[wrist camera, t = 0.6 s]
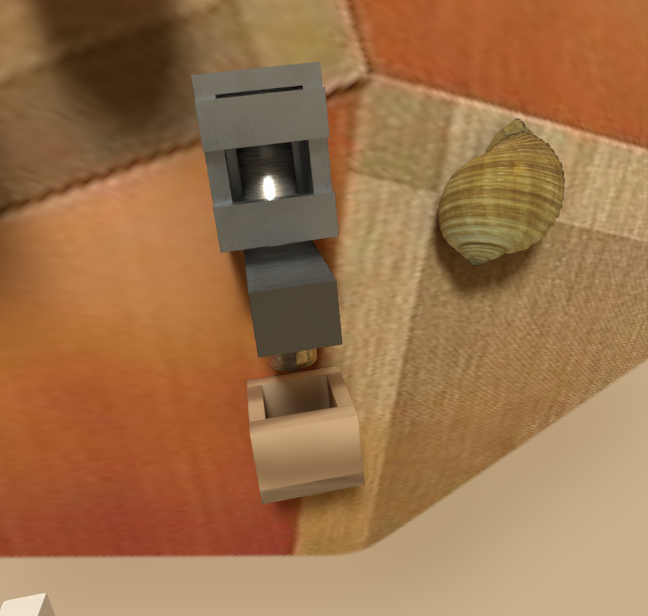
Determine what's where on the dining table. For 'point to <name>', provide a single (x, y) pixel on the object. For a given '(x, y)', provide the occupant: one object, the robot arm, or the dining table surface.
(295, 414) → the socket
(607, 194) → the dining table surface
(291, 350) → the sliding bolt
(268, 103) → the sleeve
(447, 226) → the seashell
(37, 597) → the robot arm
